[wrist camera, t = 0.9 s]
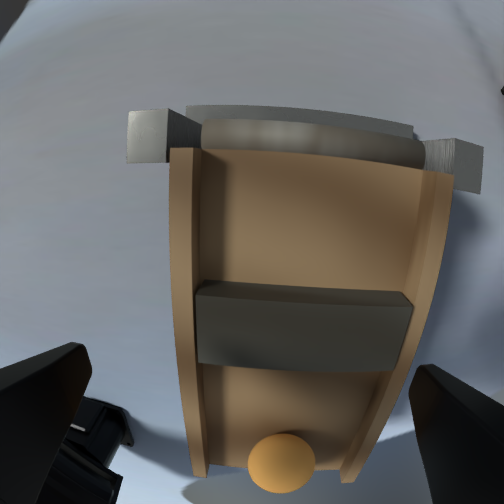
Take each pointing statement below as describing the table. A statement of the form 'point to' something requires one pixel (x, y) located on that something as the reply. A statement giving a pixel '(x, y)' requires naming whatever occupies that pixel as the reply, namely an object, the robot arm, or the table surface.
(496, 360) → the table surface
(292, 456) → the ball
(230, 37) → the table surface
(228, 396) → the tray
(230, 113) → the hinge stand
